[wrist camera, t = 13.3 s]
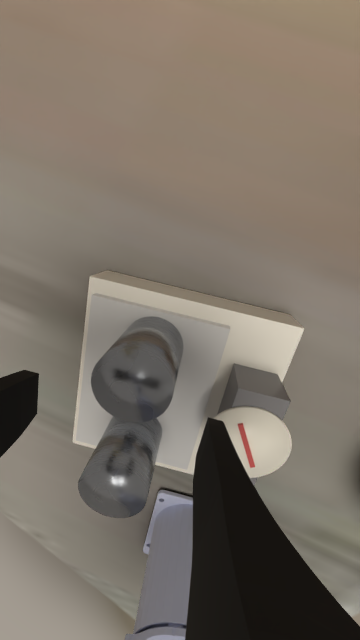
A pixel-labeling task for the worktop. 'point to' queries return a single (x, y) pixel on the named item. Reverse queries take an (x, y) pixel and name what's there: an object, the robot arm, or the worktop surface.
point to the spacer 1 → (139, 371)
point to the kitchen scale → (198, 369)
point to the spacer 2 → (121, 468)
